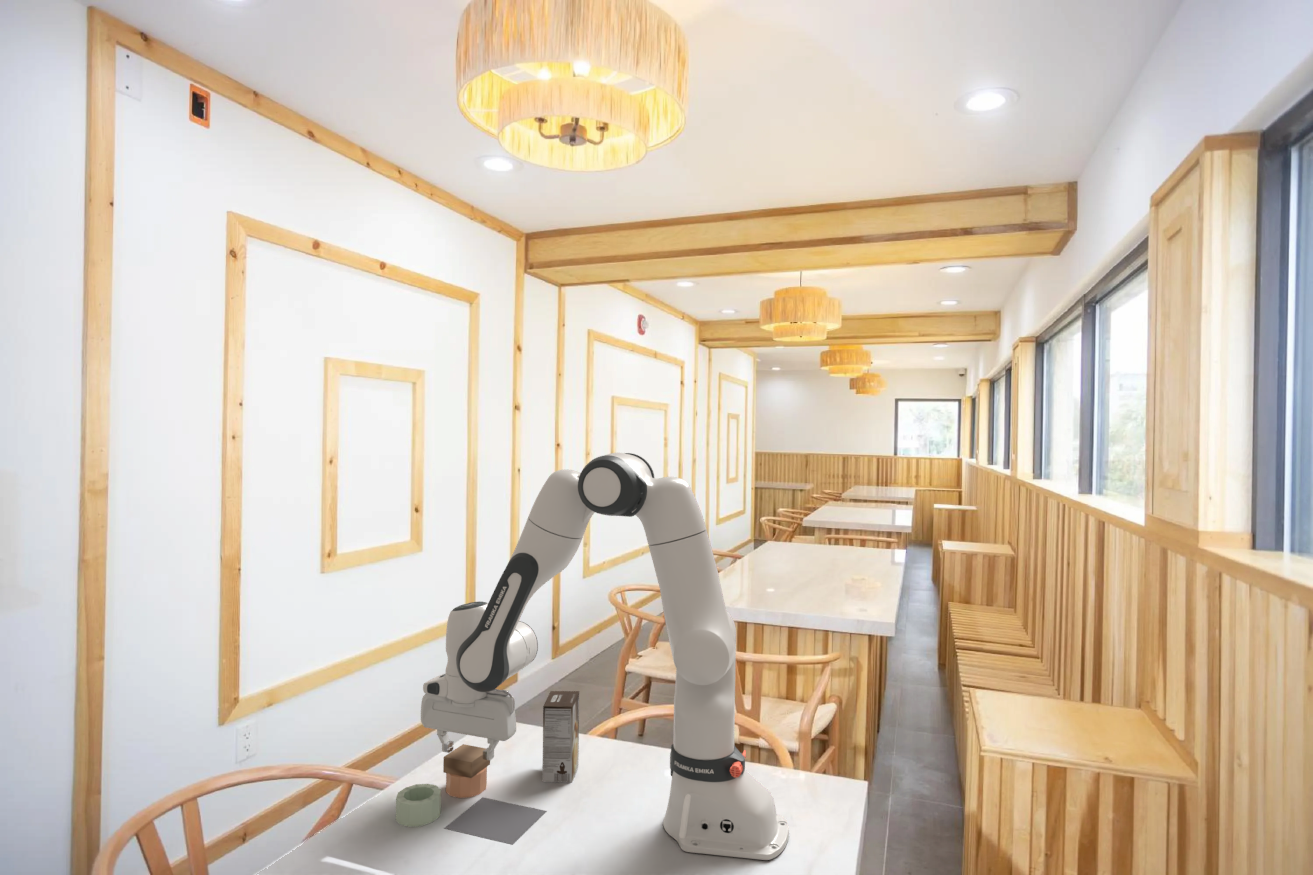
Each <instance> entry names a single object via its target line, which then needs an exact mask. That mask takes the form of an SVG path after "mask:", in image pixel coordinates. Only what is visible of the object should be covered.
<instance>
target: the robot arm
mask: <svg viewBox="0 0 1313 875" xmlns="http://www.w3.org/2000/svg"><path fill="white" fill-rule="evenodd" d="M594 514H599V515H603V516H609V517H612V516H613V517H618V516H619V517H625V518H626V517H631V518H632V517H634V516H636V517H637V518H638V520H639V521H640V522H641V525H642V526H643V530H644V533H645V537H646V541H647V544H648V548H649V552H650V556H651V560H652V565H653V567H654V572H655V575H656V578H657V584H658V588H659V592H660V597H661V605H662V610H663V615H664V616H663V617H664V622H665V626H666V633H667V637H668V642H669V646H670V651H671V656H672V660H673V664H674V666H675V669H676V671H675V687H674V697H673V698H674V699H673V737H672V738H673V739H672V740H673V743H672V744H671V746H670V753H669V754H670V755H669V768H670V777H671V784H670V790H669V797H668V802H667V807H666V811H665V814H664V817H663V822H662V825H663V828H664V830H665V831H666V833H667V834H668V835H669V836H671V838H672V839H674V840H675V841H676V842H677V843H678V845H679V847H680V849H681V850H682V851H683V852H686V853H694V854H695V853H696V854H702V855H703V854H706V855H714V856H724V857H732V858H733V857H734V858H741V859H742V858H744V859H751V860H752V859H753V860H763V861H768V860H770V861H771V860H772V859H773V860H774V859H775V858H776V857H779V855H780V854H782V852H783V851H784V850H785V848H786V846H787V843H788V841H789V837H790V827H789V823H788V821H787V818H785V816H783V815H781V814H778V813H777V810H776V809H777V808H776V802H775V800H774V796H773V794H772V792H771V791H770V790H769V789H768V788H767V787H766V786H765V785H763V783H761V781H759V780H757V779H756V778H755V777H754V776H753V775H752V774H751V773H750V772H749V771H748V770H746V757H747V756H746V755H747V753H746V752H747V750H746V749H744V750H743V752H740V750H739V749H738V748H737V747H736V745H735V724H736V723H735V718H736V717H735V714H736V712H735V710H736V708H735V707H736V699H735V698H736V656H737V628H736V624H735V620H734V618H733V617H732V615H731V614H730V612H729V611H728V610H727V608H726V604H725V600H724V595H723V591H722V586H721V581H720V576H719V575H720V574H719V571H718V566H717V563H716V559H715V556H714V552H713V549H712V545H711V541H710V537H709V534H708V529H707V526H706V523H705V519H704V517H703V513H702V510H701V509H700V505H699V503H698V501H697V498H696V497H695V494H694V492H693V490H692V488H691V486H690V484H689V483H688V482H687V481H686V480H685V479H683V478H682V477H681V478H680V477H677V476H664V477H660V478H656V477H655V473H654V470H653V468H652V466H651V464H650V463H649V462H648V460H646V459H645V458H643V457H642V456H641V455H638V454H635V453H632V452H631V453H630V452H626V453H625V452H611V453H607V454H604V455H599V456H597V457H594V458H593V459H592V460H590V461H589V462H588V463H586V465H585V466H584V467H583V469H582V470H581V472H579V471H578V470H577V471H576V470H573V469H558V470H556V471H553V472H552V473H551V474H550V475H549V476H548V478H547V479H546V480H545V482H544V484H543V485H542V487H541V489H540V491H539V493H538V495H537V496H536V498H535V500H534V503H533V504H532V507H531V509H530V511H529V514H528V517H527V519H526V522H525V524H524V527H523V530H522V533H521V534H520V536H519V538H518V542H517V543H516V547H515V548H514V551H513V552H512V555H511V557H510V559H509V560H508V563H507V565H506V566H505V569H504V571H503V572H502V574H501V575H500V578H499V580H498V582H497V583H496V585H495V589H494V590H493V592H492V595H491V596H490V599H489V601H488V602H486V601H474V602H473V601H471V602H468V603H464V604H461V605H458V606H456V607H454V608H452V610H450V612H449V616H448V617H447V623H446V630H445V631H446V632H445V652H446V655H447V664H446V666H445V672H444V673H442V674H439V675H438V676H434V677H433V678H431V679H429V680H428V681H426V682H424V683H423V684H422V685H423V686H422V690H423V693H424V695H422V699H421V704H420V722H421V724H422V726H423V727H424V728H427V729H432V730H436V735H437V737H438V739H439V741H440V743H441V752H443V753H447V754H449V753H450V752H452V751H454V741H453V740H451V738H450V737H449V733H453V734H454V733H456V734H461V735H467V736H471V737H477V738H484V739H487V742H486V743H487V744H489V745H488V747H487V748H486V747H485V748H486V750H484V751H483V759H484V760H489V761H490V762H491V760H493V759H494V757H495V749H496V748H497V745H498V744H499V742H500V741H501V742H507V740H509V739H511V738H512V737H513V736H514V735H515V733H517V718H516V711H515V708H516V704H515V702H516V700H515V699H516V698H515V697H514V696H513V695H512V694H511V693H510V692H509V690H506V689H498V688H499V686H500V685H502V684H503V683H504V682H505V681H507V680H508V679H510V678H511V677H513V676H515V675H516V674H517V673H519V672H520V671H521V670H523V669H525V668H526V667H528V666H529V665H530V664H531V663H532V662H533V661H534V660H535V658H536V657H537V654H538V651H539V642H538V637H537V635H536V633H535V630H533V628H532V627H531V626H530V625H529V624H527V622H523V621H522V620H521V621H520V619H521V617H522V615H523V613H524V611H525V609H526V607H527V605H528V602H529V601H530V600H531V598H532V597H533V596H534V594H535V593H536V592H537V591H539V589H540V588H541V587H544V585H545V584H547V583H548V582H549V581H550V580H551V579H553V578H554V577H555V576H557V575H558V574H560V573H561V572H563V571H564V570H565V569H566V568H567V567H568V566H569V565H570V563H571V561H572V559H573V558H574V556H575V555H576V553H577V551H578V550H579V547H580V546H581V543H582V540H583V538H584V535H585V532H586V529H587V528H588V524H589V522H590V520H591V518H592V517H593V515H594Z"/></svg>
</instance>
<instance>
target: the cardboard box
mask: <svg viewBox="0 0 1313 875" xmlns="http://www.w3.org/2000/svg"><path fill="white" fill-rule="evenodd" d="M484 750H486V747H481V746H479V747H478V746H474V745H469V744H464V743H463V744H461V745H460V746H458V747H457V748H455V749H453V751H451V752H450V753H447V754H446V755H444V756H443V764H442V765H443V766H442V768H443V770H442V771H443V774H444V773H445V774H446V773H449V774H454V775H458V776H463V777H468V778H472V777H474V776H475V775H476V774H478V773H479V772H480V771H482V770H483V769H484V768H486V767H487V768H488V766H490V765H491V760H490V761H489V760H484V759H483V751H484Z"/></svg>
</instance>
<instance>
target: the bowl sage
mask: <svg viewBox="0 0 1313 875" xmlns="http://www.w3.org/2000/svg"><path fill="white" fill-rule="evenodd" d="M441 811H442V789H441V788H440V787H439V786H438V785H436V784H431V783H417V784H413V785H409V786H405V787H404V788H403V789H401V790H400V791H397V795H396V797H395V821H396V823H398V824H399V826H404V827H409V828H411V827H412V828H413V827H422V826H426V825H428V824H431V823H433V822H435V821H436V820H438V818H439V817H440V816H441Z"/></svg>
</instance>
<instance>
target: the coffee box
mask: <svg viewBox="0 0 1313 875" xmlns="http://www.w3.org/2000/svg"><path fill="white" fill-rule="evenodd" d="M542 711H543V712H542V768H541V769H542V771H541V772H542V776H541V778H542V780H541V781H542V783H567V784H568V783H573V781H574V778H576V774H577V771H578V768H579V754H580V753H579V752H580V750H579V749H580V745H579V740H580V734H579V733H580V732H579V731H580V729H579V728H580V691H579V690H572V691H571V690H550V692H549V693H548V695H547V697H546V700H545V702H544V703H543V706H542Z"/></svg>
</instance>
